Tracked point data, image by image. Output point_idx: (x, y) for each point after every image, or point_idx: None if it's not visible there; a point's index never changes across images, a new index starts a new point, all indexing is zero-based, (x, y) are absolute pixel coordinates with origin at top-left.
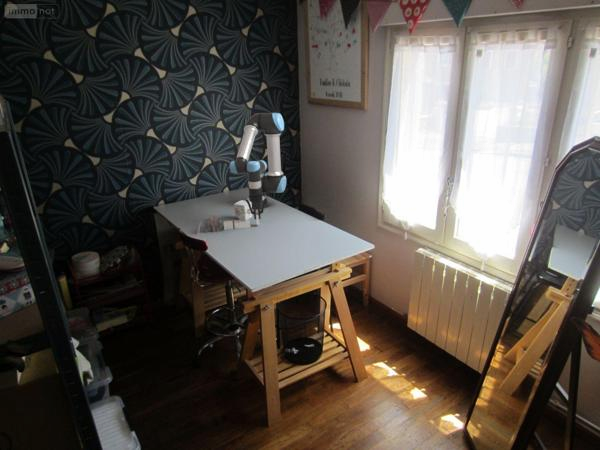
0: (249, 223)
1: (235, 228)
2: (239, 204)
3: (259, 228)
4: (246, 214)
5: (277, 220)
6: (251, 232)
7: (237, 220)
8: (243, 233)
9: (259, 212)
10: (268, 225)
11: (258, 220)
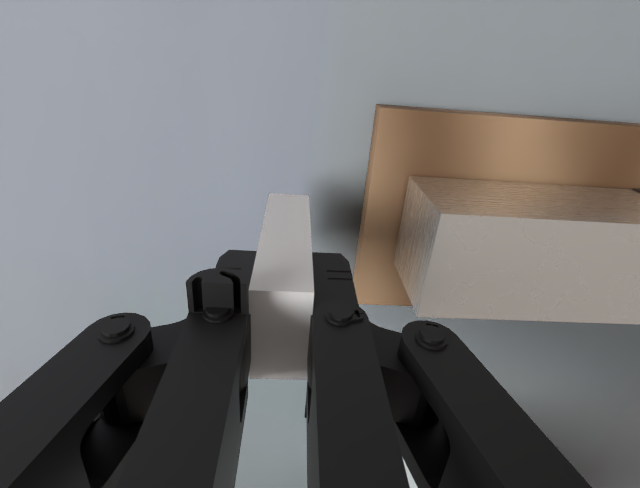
0: (439, 200)
1: (626, 189)
2: None
3: (274, 163)
4: (409, 484)
5: (35, 359)
6: (417, 28)
7: (619, 315)
8: (545, 25)
9: (202, 332)
10: (142, 237)
11: (271, 222)
